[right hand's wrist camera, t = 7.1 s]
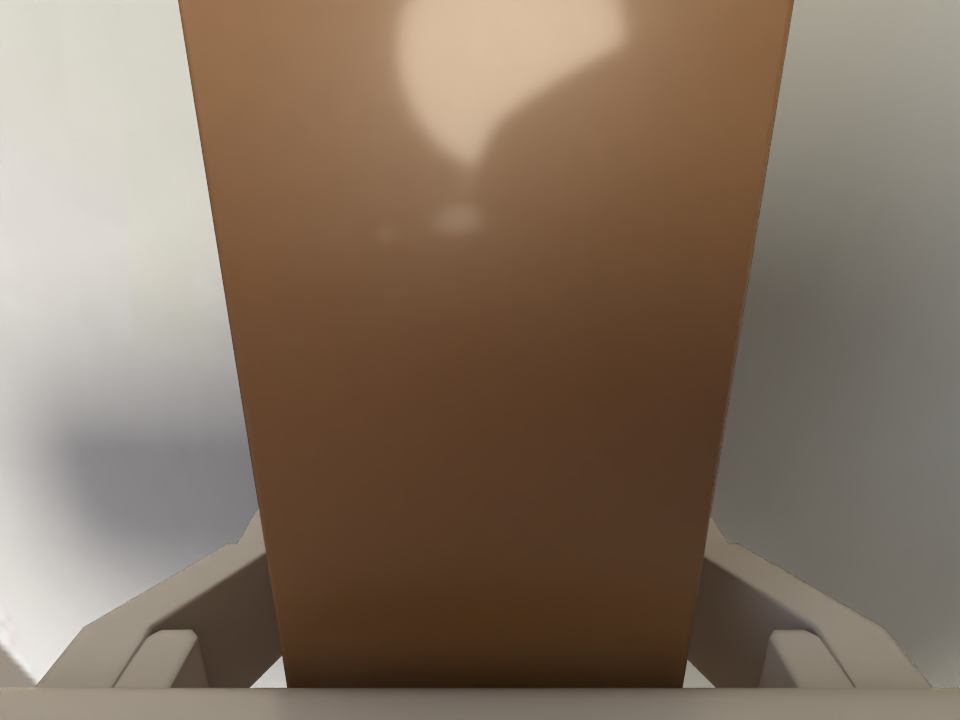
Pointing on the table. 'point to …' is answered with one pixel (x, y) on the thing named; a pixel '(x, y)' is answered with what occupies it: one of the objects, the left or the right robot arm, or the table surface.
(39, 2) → the table surface
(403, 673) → the beam
